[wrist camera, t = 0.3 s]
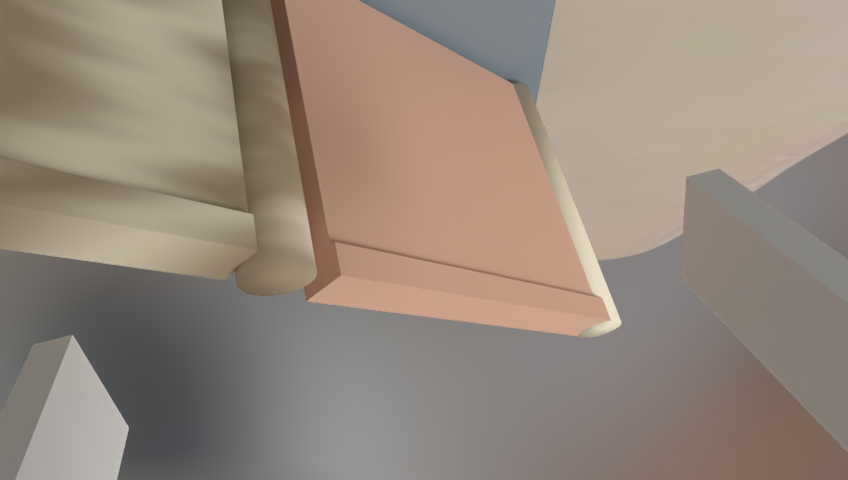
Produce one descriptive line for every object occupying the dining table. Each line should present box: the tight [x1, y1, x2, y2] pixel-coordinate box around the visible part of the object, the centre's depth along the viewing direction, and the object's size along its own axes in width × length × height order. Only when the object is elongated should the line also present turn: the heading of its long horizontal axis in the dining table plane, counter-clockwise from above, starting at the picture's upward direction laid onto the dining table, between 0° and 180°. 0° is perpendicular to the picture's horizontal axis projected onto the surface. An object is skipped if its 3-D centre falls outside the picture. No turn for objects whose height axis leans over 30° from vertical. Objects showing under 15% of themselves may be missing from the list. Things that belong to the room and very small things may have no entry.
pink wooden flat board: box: [270, 0, 621, 338], centre depth 25 cm, size 15×2×13 cm, turn 47°
